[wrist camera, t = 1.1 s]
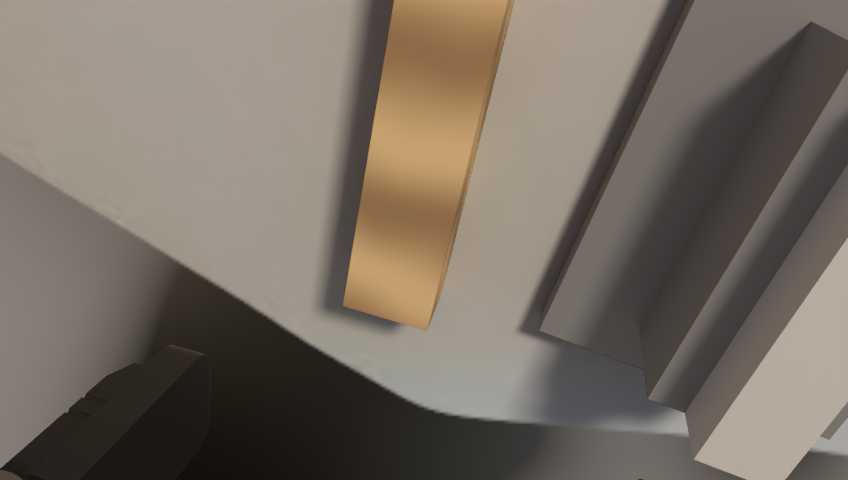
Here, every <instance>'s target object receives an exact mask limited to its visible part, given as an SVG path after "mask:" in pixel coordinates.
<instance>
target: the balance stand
mask: <svg viewBox="0 0 848 480" xmlns="http://www.w3.org/2000/svg"><path fill="white" fill-rule="evenodd" d="M539 331H541V332H544V333H547V334H549V335H552V336H555V337H557V338H560V339H563V340H565V341H568V342H571V343H573V344H576V345H579V346H581V347H584V348H587V349H589V350H592V351H595V352H597V353H600V354H603V355H605V356H608V357H611V358H613V359H616V360H619V361H621V362H624V363H627V364H629V365H632V366H635V367H637V368H640V369H643V370H644V372H645V380H646V388H647V397H648V399H650V400H652V401H655V402H658V403H660V404H663V405H666V406H668V407H671V408H673V409H676V410H679V411H681V412H684V413H685V416H686V421H687V426H688V431H689V437H690V442H691V447H692V452H693V458H694V459H695V460H697V461H699V462H702V463H705V464H707V465H710V466H713V467H715V468H718V469H720V470H723V471H726V472H729V473H731V474H734V475H736V476H739V477H741V478H744V479H747V480H785V479H786V478H787V477H788V475H789V474H790V473H791V472H792V470H793V469H794V468H795V466H796V465H797V464H798V463H799V462H800V460H801V459H802V458H803V457H804V455H805V454H806V453H807V452H808V450H809V449H810V448H811V447H812V445H813V444H814V443H815V442H816V441H817V439H818V438H819V437H820V436H821V437H824V438H826V439H830V438H831V437H832V436H833V435H834V433H835V432H836V431H837V430H838V428H839V427H840V426H841V425H842V424H843V422H844V421H845V420H846V419H847V417H848V0H687V1H686V3H685V6H684V8H683V10H682V12H681V14H680V16H679V19H678V21H677V23H676V25H675V27H674V29H673V31H672V34H671V36H670V38H669V40H668V42H667V44H666V46H665V49H664V51H663V53H662V55H661V57H660V59H659V62H658V64H657V66H656V68H655V70H654V72H653V74H652V77H651V79H650V81H649V83H648V85H647V87H646V89H645V92H644V94H643V96H642V98H641V100H640V102H639V104H638V107H637V109H636V111H635V113H634V115H633V117H632V120H631V122H630V124H629V126H628V128H627V130H626V132H625V135H624V137H623V139H622V141H621V143H620V145H619V147H618V150H617V152H616V154H615V156H614V158H613V160H612V163H611V165H610V167H609V169H608V171H607V173H606V175H605V178H604V180H603V182H602V184H601V186H600V188H599V190H598V193H597V195H596V197H595V199H594V201H593V203H592V205H591V208H590V210H589V212H588V214H587V216H586V218H585V221H584V223H583V225H582V227H581V229H580V231H579V233H578V236H577V238H576V240H575V242H574V244H573V246H572V248H571V251H570V253H569V255H568V257H567V259H566V261H565V263H564V266H563V268H562V270H561V272H560V274H559V276H558V279H557V281H556V283H555V285H554V287H553V289H552V291H551V294H550V296H549V298H548V300H547V302H546V304H545V306H544V309H543V311H542V313H541V319H540V328H539Z"/></svg>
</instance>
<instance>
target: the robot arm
mask: <svg viewBox="0 0 848 480" xmlns="http://www.w3.org/2000/svg"><path fill="white" fill-rule="evenodd" d="M210 377H211V362H210V358H209V356H208V355H206V354H202V353H199V352H195V351H191V350H188V349H184V348H180V347H177V346H174V345H168V346H166V347H164V348H163V349H162V350H161V351H160V352H159V353H157V354H156V355H155V356H154V357H153V358H152V359H151V360H150V361H149V362H148V363H147V364H146V365H144V366H142V365H138V364H135V363H134V364H131V365H129V366H127V367H125V368H123V369H120V370H118V371H116V372H114V373H112V374H110V375H107V376H106V377H105V378H104V379H102V380H101V381H100V382H99V383H98V384H97V385H96V386H94V387H93V388H92V389H91V390H90V391H89V392H88V393H87V394H86V396H85V398H81V399H80V400H78V401H77V402H76V403H75V404H74V405H73V406H72V407H70V408H69V412H68V413H64V414H62V415H61V416H60V417H59V418H58V419H57V420H56V421H54V422H53V423H52V424H51V425H50V426H49V427H48V428H47V429H45V430H44V431H43V432H42V433H41V434H40V435H38V436H37V437H36V438H35V439H34V440H33V441H32V442H31V443H29V444H28V445H27V446H26V447H25V448H24V449H22V450H21V451H20V452H19V453H18V454H17V455H15V456H14V457H13V458H12V459H11V460H10V461H9V462H7V463H6V464H5V465H4V466H3V467H2V468H0V480H175V479H176V477H177V476H178V475H179V474H180V472H181V471H182V470H183V469H184V467H185V466H186V465H187V463H188V462H189V461H190V460H191V459H192V457H193V456H194V455H195V453H196V452H197V451H198V449H199V448H200V446H201V444H202V442H203V440H204V438H205V435H206V432H207V429H208V425H209V420H210V380H211V378H210ZM639 480H643V479H639Z"/></svg>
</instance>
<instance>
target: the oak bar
mask: <svg viewBox="0 0 848 480" xmlns="http://www.w3.org/2000/svg"><path fill="white" fill-rule="evenodd" d="M514 1H515V0H394V4H393V10H392V15H391V21H390V27H389V33H388V39H387V45H386V51H385V57H384V63H383V69H382V75H381V81H380V87H379V93H378V99H377V105H376V111H375V117H374V123H373V129H372V135H371V141H370V147H369V153H368V159H367V164H366V170H365V176H364V182H363V188H362V194H361V200H360V206H359V212H358V218H357V224H356V230H355V236H354V242H353V248H352V254H351V260H350V266H349V272H348V278H347V284H346V290H345V296H344V302H343V306H344V307H347V308H351V309H354V310H358V311H361V312H364V313H368V314H371V315H375V316H378V317H381V318H385V319H388V320H392V321H395V322H398V323H402V324H405V325H409V326H412V327H415V328H419V329H422V330H426V331H427V329H428V327H429V324H430V321H431V319H432V316H433V314H434V311H435V308H436V306H437V303H438V300H439V298H440V295H441V292H442V289H443V285H444V281H445V277H446V273H447V269H448V265H449V261H450V257H451V253H452V249H453V245H454V241H455V237H456V233H457V229H458V225H459V221H460V217H461V213H462V209H463V205H464V201H465V197H466V193H467V189H468V185H469V181H470V177H471V173H472V169H473V165H474V161H475V157H476V153H477V149H478V145H479V141H480V137H481V133H482V129H483V125H484V121H485V117H486V113H487V109H488V105H489V101H490V97H491V93H492V89H493V85H494V81H495V77H496V73H497V69H498V65H499V61H500V57H501V53H502V49H503V45H504V41H505V37H506V33H507V29H508V25H509V21H510V17H511V13H512V9H513V5H514Z"/></svg>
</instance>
